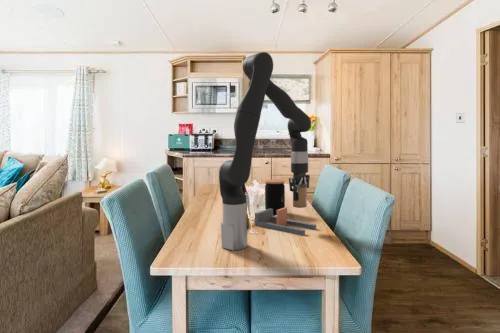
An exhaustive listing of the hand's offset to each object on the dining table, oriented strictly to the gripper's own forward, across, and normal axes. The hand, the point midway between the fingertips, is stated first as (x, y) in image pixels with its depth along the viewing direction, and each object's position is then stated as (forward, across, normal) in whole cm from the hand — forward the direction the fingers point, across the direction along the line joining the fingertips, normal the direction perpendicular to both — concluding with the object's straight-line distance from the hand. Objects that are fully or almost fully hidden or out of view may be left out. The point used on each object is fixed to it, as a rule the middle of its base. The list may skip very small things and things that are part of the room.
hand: (299, 199), depth 142 cm
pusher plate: (+14, 0, -11) cm, 18 cm away
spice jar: (+3, 0, 0) cm, 3 cm away
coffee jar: (+14, -19, -27) cm, 36 cm away
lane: (+14, 0, -8) cm, 16 cm away
